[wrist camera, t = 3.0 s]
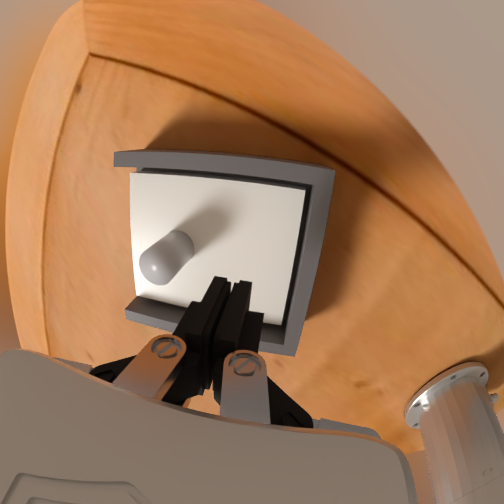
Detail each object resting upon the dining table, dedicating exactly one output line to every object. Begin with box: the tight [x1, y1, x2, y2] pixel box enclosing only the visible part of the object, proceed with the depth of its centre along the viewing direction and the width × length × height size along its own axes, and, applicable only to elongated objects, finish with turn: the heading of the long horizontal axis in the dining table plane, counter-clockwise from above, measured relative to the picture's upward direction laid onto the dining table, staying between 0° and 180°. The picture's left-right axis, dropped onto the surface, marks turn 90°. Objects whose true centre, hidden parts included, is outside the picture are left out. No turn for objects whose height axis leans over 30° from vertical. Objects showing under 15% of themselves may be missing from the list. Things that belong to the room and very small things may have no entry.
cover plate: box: [130, 170, 305, 325], centre depth 18 cm, size 12×10×5 cm
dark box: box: [114, 149, 336, 357], centre depth 19 cm, size 14×13×4 cm
